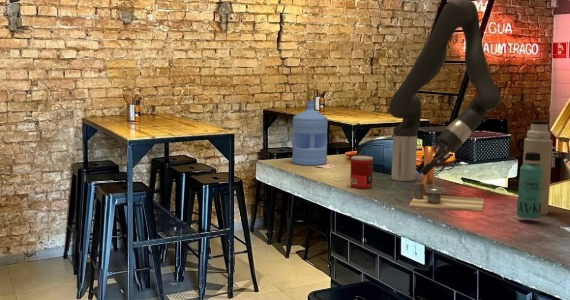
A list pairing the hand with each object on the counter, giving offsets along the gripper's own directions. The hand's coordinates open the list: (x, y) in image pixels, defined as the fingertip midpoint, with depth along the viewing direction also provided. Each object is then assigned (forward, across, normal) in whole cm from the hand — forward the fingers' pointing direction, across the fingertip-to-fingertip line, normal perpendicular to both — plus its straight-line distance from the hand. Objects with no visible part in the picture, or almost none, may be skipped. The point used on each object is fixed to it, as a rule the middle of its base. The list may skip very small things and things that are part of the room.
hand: (420, 172), depth 218 cm
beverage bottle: (-5, +38, +18) cm, 42 cm away
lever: (+4, +6, +6) cm, 10 cm away
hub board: (+3, +11, +9) cm, 15 cm away
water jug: (+19, -79, -7) cm, 81 cm away
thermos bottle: (-12, +27, +24) cm, 38 cm away
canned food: (+16, -20, -4) cm, 26 cm away
